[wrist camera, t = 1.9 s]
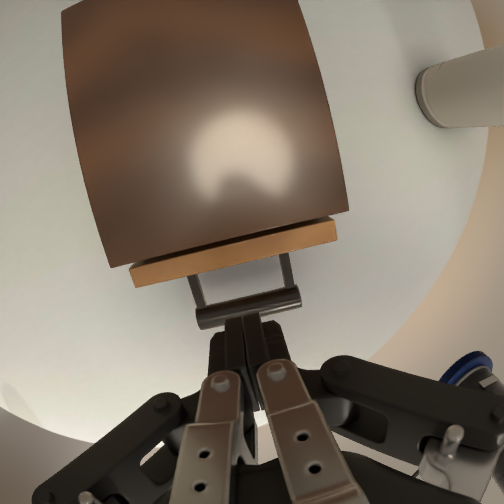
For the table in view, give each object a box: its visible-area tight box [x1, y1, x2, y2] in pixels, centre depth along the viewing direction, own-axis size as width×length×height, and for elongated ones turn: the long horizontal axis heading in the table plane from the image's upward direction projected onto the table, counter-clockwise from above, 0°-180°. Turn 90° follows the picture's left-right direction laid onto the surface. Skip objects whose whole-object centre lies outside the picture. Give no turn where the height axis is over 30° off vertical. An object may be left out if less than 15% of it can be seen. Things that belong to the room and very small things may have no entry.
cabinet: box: [61, 0, 349, 268], centre depth 17 cm, size 16×13×10 cm
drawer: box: [129, 216, 337, 330], centre depth 19 cm, size 20×12×8 cm, turn 13°
